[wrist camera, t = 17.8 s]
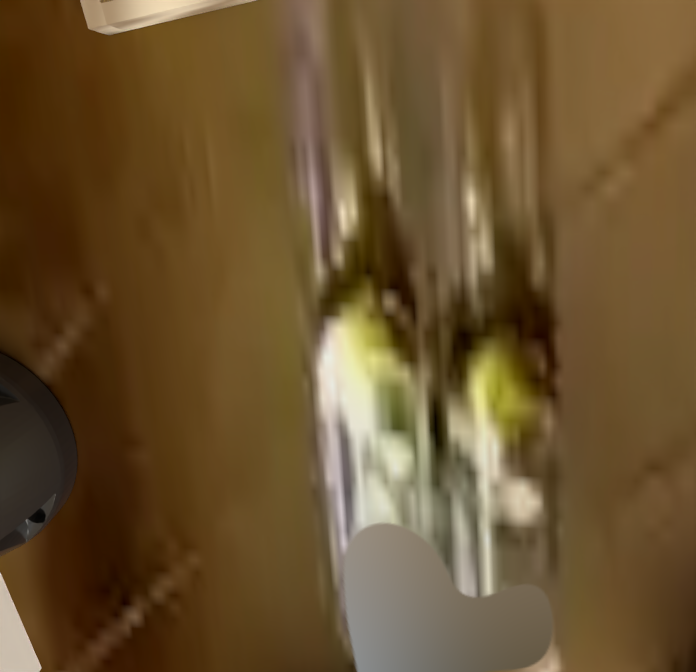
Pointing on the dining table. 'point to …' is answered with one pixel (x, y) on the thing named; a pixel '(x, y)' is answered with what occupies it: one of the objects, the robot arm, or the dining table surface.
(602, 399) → the dining table surface
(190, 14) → the birch tray
